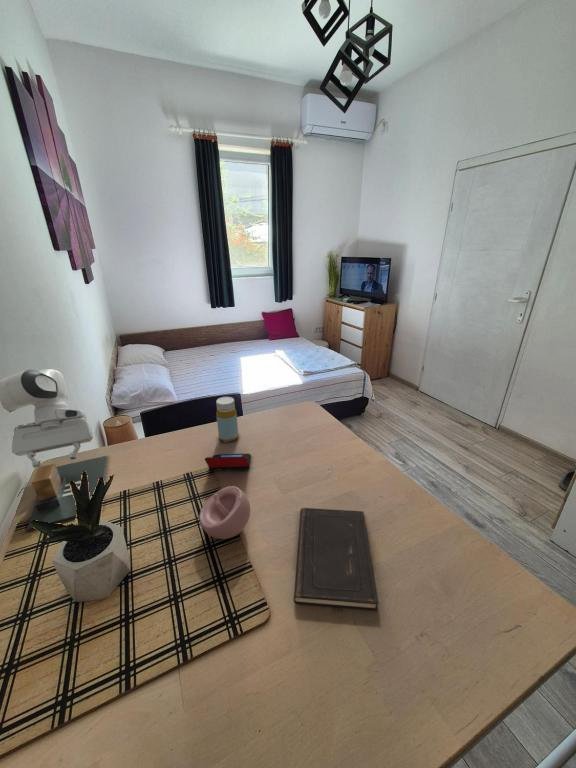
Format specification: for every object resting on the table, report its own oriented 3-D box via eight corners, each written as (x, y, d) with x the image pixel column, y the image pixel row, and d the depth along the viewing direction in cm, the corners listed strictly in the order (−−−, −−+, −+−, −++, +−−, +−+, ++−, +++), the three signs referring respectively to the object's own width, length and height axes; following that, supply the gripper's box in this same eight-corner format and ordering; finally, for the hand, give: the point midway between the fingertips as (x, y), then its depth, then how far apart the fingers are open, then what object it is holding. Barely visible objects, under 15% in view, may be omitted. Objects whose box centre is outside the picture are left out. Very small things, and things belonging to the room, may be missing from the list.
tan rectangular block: (37, 511, 85) (27, 486, 82) (46, 487, 93) (37, 464, 90) (59, 505, 87) (50, 481, 84) (66, 482, 95) (58, 459, 92)
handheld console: (251, 456, 108) (250, 436, 105) (248, 477, 98) (246, 457, 95) (213, 456, 108) (211, 437, 105) (206, 478, 98) (203, 457, 95)
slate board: (27, 531, 80) (26, 529, 80) (50, 470, 102) (49, 468, 101) (100, 511, 86) (100, 508, 86) (107, 457, 108) (106, 455, 107)
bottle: (224, 431, 122) (221, 395, 117) (241, 433, 120) (238, 397, 114) (215, 440, 116) (211, 403, 110) (233, 444, 114) (229, 406, 108)
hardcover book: (362, 518, 83) (363, 511, 82) (377, 611, 62) (378, 603, 61) (300, 514, 84) (300, 507, 83) (293, 604, 63) (293, 596, 62)
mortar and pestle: (201, 516, 84) (196, 481, 79) (247, 507, 86) (245, 472, 82) (202, 556, 73) (196, 517, 69) (254, 544, 76) (252, 506, 71)
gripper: (6, 423, 95) (7, 470, 90) (86, 409, 102) (91, 452, 98) (16, 429, 100) (17, 473, 96) (91, 415, 108) (96, 456, 103)
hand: (55, 462), depth 97 cm, fingers open, 8 cm apart
